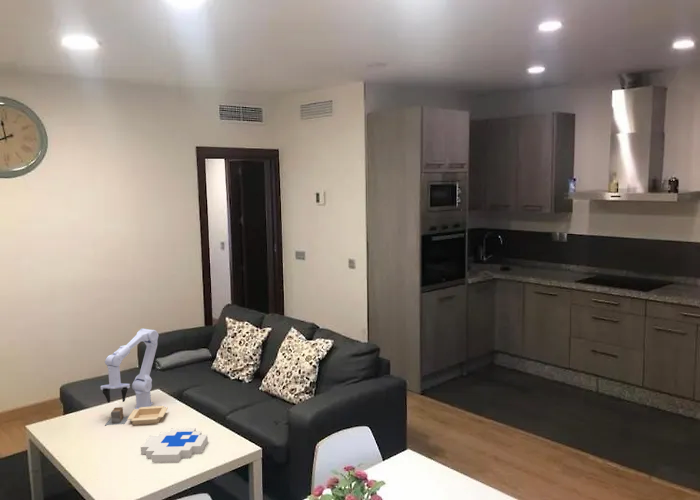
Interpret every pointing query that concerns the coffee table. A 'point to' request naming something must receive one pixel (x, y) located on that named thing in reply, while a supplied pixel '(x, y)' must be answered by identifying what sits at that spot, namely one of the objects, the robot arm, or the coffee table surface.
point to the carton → (147, 414)
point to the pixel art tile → (174, 445)
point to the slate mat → (117, 423)
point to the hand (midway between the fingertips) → (116, 401)
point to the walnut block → (117, 415)
